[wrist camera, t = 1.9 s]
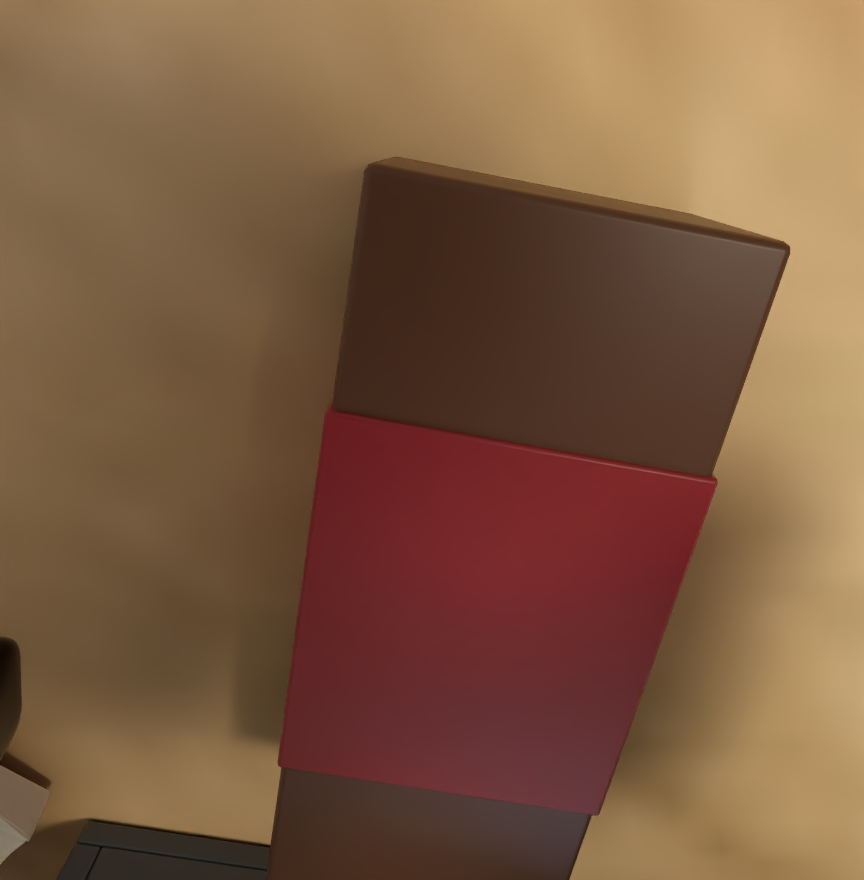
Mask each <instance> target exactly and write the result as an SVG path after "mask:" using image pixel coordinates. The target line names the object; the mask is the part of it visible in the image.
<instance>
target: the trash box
mask: <svg viewBox="0 0 864 880" xmlns="http://www.w3.org/2000/svg"><path fill="white" fill-rule="evenodd" d="M269 853H270V848H269V847H262V846H256V845H249V844H242V843H235V842H229V841H222V840H215V839H208V838H202V837H195V836H188V835H181V834H175V833H168V832H161V831H154V830H148V829H141V828H134V827H127V826H121V825H114V824H107V823H100V822H94V821H88V822H87V823H86V825H85V826H84V828H83V830H82V832H81V834H80V836H79V838H78V840H77V844H75V845H74V847H73V849H72V851H71V853H70V855H69V857H68V858H67V860H66V862H65V864H64V866H63V868H62V870H61V872H60V874H59V875H58V877H57V879H56V880H266V875H267V868H268V860H269Z"/></svg>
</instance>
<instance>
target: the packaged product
mask: <svg viewBox="0 0 864 880" xmlns="http://www.w3.org/2000/svg"><path fill="white" fill-rule="evenodd" d="M50 794H51V792H50V791H48V790H47V789H45V788H43V787H41V786H39V785H37V784H35V783H33V782H31V781H29V780H28V779H26V778H24V777H22V776H20V775H18V774H16V773H14V772H12V771H10V770H8V769H7V768H5V767H3V766H1V765H0V864H1V863H2V862H3V861H4V860H5V859H6V858H7V857H8V856H9V855H10V854H11V853H12V852H13V851H14V850H16V849H17V848H18V847H19V846H21V845H22V844H23V843H24V842H26V841H28V842H29V841H30V839H31V837H32V834H33V832H34V830H35V828H36V825H37V823H38V821H39V819H40V816H41V814H42V812H43V810H44V808H45V805H46V803H47V801H48V799H49V796H50Z"/></svg>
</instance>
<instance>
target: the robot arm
mask: <svg viewBox="0 0 864 880" xmlns="http://www.w3.org/2000/svg"><path fill="white" fill-rule="evenodd" d="M21 709H22V697H21V661H20V649H19V646H18V644H17V643H16V642H15V641H14V640H12V639H10V638H6V637H0V761H1V759H2V757H3V755H4V753H5V751H6V749H7V747H8V745H9V743H10V741H11V739H12V738H13V736H14V733H15V731H16V729H17V726H18V723H19V720H20V716H21Z"/></svg>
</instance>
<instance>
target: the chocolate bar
mask: <svg viewBox="0 0 864 880" xmlns="http://www.w3.org/2000/svg"><path fill="white" fill-rule="evenodd" d="M789 255H790V246H789V245H788V244H786V243H785V242H783V241H780V240H777V239H773V238H770V237H767V236H763V235H760V234H756V233H753V232H750V231H746V230H743V229H740V228H736V227H733V226H730V225H726V224H723V223H720V222H716V221H713V220H710V219H706V218H703V217H700V216H696V215H693V214H689V213H684V212H679V211H673V210H668V209H663V208H658V207H653V206H648V205H643V204H637V203H632V202H627V201H622V200H617V199H612V198H606V197H601V196H596V195H591V194H586V193H581V192H576V191H570V190H565V189H560V188H555V187H550V186H545V185H539V184H534V183H529V182H524V181H519V180H514V179H508V178H503V177H498V176H493V175H488V174H483V173H478V172H472V171H467V170H462V169H457V168H452V167H447V166H441V165H436V164H431V163H426V162H421V161H416V160H410V159H405V158H400V157H393V158H389V159H386V160H382V161H379V162H375V163H372V164H368V166H367V168H366V169H365V171H364V177H363V184H362V192H361V199H360V206H359V213H358V220H357V228H356V235H355V242H354V249H353V256H352V264H351V271H350V278H349V285H348V292H347V300H346V307H345V314H344V321H343V328H342V335H341V343H340V350H339V357H338V364H337V371H336V379H335V386H334V393H333V397H332V399H331V402H330V404H329V406H328V408H327V410H326V413H325V418H324V425H323V432H322V440H321V447H320V454H319V462H318V469H317V476H316V484H315V491H314V498H313V506H312V513H311V520H310V528H309V535H308V542H307V550H306V557H305V564H304V572H303V579H302V587H301V594H300V601H299V609H298V616H297V623H296V631H295V638H294V645H293V653H292V660H291V667H290V675H289V682H288V689H287V697H286V704H285V711H284V719H283V726H282V734H281V741H280V748H279V756H278V765H279V767H281V774H280V781H279V789H278V796H277V803H276V810H275V817H274V825H273V832H272V839H271V846H270V853H269V860H268V868H267V875H266V880H569V878H570V876H571V873H572V870H573V867H574V864H575V861H576V859H577V856H578V853H579V850H580V847H581V844H582V842H583V839H584V836H585V833H586V830H587V827H588V825H589V822H590V819H591V816H592V815H595V816H596V815H598V814H599V813H600V810H601V807H602V805H603V802H604V799H605V796H606V793H607V791H608V788H609V785H610V782H611V779H612V777H613V774H614V771H615V768H616V765H617V763H618V760H619V757H620V754H621V751H622V749H623V746H624V743H625V740H626V737H627V735H628V732H629V729H630V726H631V723H632V721H633V718H634V715H635V712H636V709H637V707H638V704H639V701H640V698H641V695H642V693H643V690H644V687H645V684H646V681H647V679H648V676H649V673H650V670H651V667H652V665H653V662H654V659H655V656H656V653H657V651H658V648H659V645H660V642H661V640H662V637H663V634H664V631H665V628H666V626H667V623H668V620H669V617H670V614H671V612H672V609H673V606H674V603H675V600H676V598H677V595H678V592H679V589H680V586H681V584H682V581H683V578H684V575H685V572H686V570H687V567H688V564H689V561H690V558H691V556H692V553H693V550H694V547H695V544H696V542H697V539H698V536H699V533H700V530H701V528H702V525H703V522H704V519H705V516H706V514H707V511H708V508H709V505H710V502H711V500H712V497H713V494H714V491H715V488H716V486H717V479H716V478H715V476H714V475H713V474H712V473H713V470H714V467H715V465H716V462H717V459H718V456H719V453H720V450H721V448H722V445H723V442H724V439H725V436H726V433H727V431H728V428H729V425H730V422H731V419H732V416H733V414H734V411H735V408H736V405H737V402H738V399H739V397H740V394H741V391H742V388H743V385H744V382H745V380H746V377H747V374H748V371H749V368H750V365H751V363H752V360H753V357H754V354H755V351H756V348H757V346H758V343H759V340H760V337H761V334H762V331H763V329H764V326H765V323H766V320H767V317H768V314H769V312H770V309H771V306H772V303H773V300H774V297H775V295H776V292H777V289H778V286H779V283H780V280H781V278H782V275H783V272H784V269H785V266H786V263H787V260H788V258H789Z"/></svg>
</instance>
